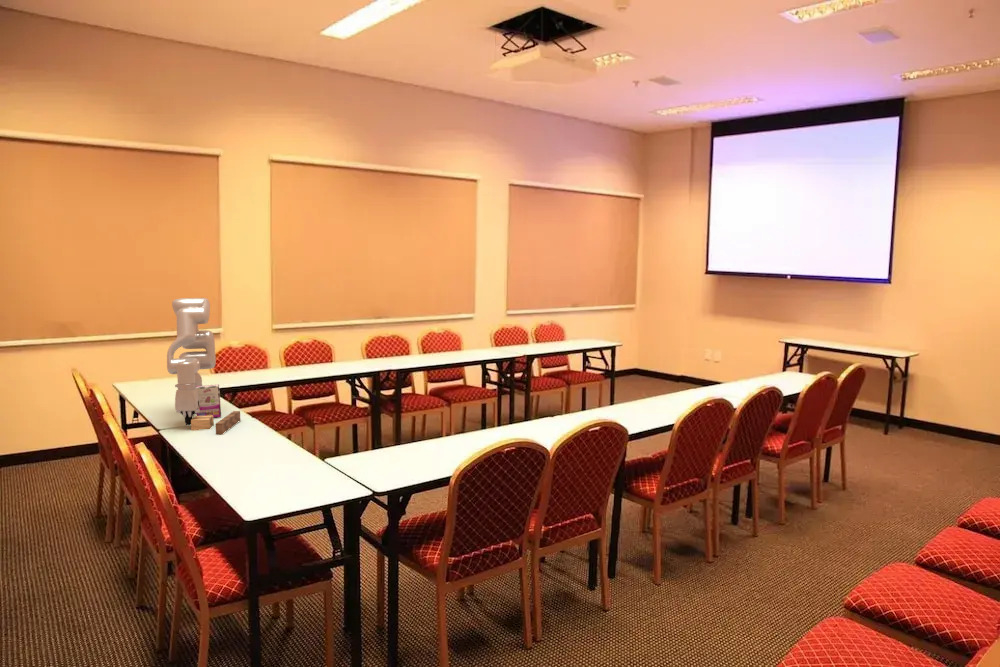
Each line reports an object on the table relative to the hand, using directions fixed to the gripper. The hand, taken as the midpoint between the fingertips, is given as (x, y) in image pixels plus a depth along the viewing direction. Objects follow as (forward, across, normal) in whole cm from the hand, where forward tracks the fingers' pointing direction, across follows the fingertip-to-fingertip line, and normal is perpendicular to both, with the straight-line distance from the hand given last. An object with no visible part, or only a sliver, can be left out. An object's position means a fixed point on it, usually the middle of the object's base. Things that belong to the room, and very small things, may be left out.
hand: (188, 424), depth 316 cm
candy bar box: (+2, +2, +19) cm, 19 cm away
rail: (+2, +18, 0) cm, 19 cm away
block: (+2, +6, 0) cm, 7 cm away
